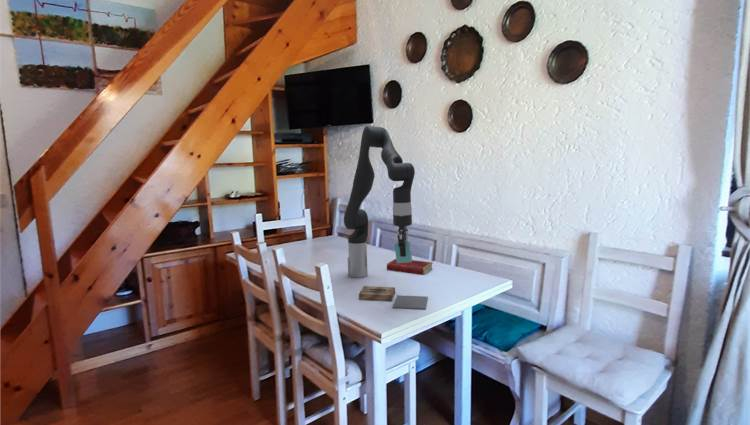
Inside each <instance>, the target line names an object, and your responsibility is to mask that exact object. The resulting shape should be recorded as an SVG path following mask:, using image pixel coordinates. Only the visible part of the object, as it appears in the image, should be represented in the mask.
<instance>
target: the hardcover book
mask: <svg viewBox="0 0 750 425" xmlns="http://www.w3.org/2000/svg"><path fill="white" fill-rule="evenodd" d="M433 264H434V262H432V261H423V260H417V259H416V260H414V259H412V262H407V263H397V261H396V258H395V259H392V260H391V261H389V262H387V263H386V270H387V271H391V272H399V273H405V274H413V275H414V274H415V275H420V276H425V275H426V274H427V273H429V272H431V270H433ZM428 271H429V272H428Z"/></svg>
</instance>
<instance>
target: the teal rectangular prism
mask: <svg viewBox="0 0 750 425" xmlns="http://www.w3.org/2000/svg"><path fill="white" fill-rule="evenodd" d="M401 244H403V243H401ZM398 245H399V244H398V241H397V242H394V250H395V259H396V261H397V263H407V262H412V260H413V257H412V256H413V255H412V250H411V249H412V248H411V241H409V240H408V242H406V256H405V257H401V256H400V247H399V246H398Z"/></svg>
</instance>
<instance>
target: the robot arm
mask: <svg viewBox="0 0 750 425" xmlns="http://www.w3.org/2000/svg"><path fill="white" fill-rule="evenodd" d="M361 133H362V134H361V139H360V140H361V141H360V146H359V155H358V160H357V165H356V169H355V173H354V178H353V183H352V188H351V191H350V195H349V198H348V203H347V206H346V209H345V212H344V215H343V224H344V227H345V228H346V229H348V230H353V232H352V233H351V234H350V235H349V236H348V237H347V245H348V248H347V249H348V257H347V276H348V277H349V278H350V277H351V278H355V279H359V278H365V277H368V272H369V270H368V244H367V243H368V242H367V241H368V239H367V238H368V236H369V216H368V213H367V211H366V210H364V209H360V207H361V205H362V203H363V202H364V200H365V199H366V198H367V196H368V195H369V194H370V192H371V190H372V188H373V185H374V181H375V176H376V174H375V171H374V167H373V165H372V163H371V160H370V148H377V149H379V148H380V149H382V150H381V152H380V157H381V160H382V161H383V163H384V165H385V167H386V169H387V170H386V171H387V176H388V178H389V180H391V181H392V182H402V184H401V185H400V186H397V187H394V188H393V189H392V190H393V191H392V200H393V201H392V204H393V205H392V219H393V220H392V225H393V226H394V227H398V229H397V232H396V233H397V234H396V235H397V237H396V238H397V242H398V244H399V245H398V246H399V247H400V256H401V257H405V256H406V242H409V239H408V238H409V234H408V233H409V229H408V228H407V227H410V226H411V225H413V214H412V209H413V208H412V196H411V194H412V187H413V183H414V179H415V178H414V177H415V172H416V171H415V167H414V165H413V164H412V163H410V162H403V158H402V156H401V155H400V154H399V152H398V151H397V150H396V148H395V147H394V143H393V142H392V139H391V136H390V134H389V132H388V130H387V129H386V128H385V127H382V126H381V127H380V126H374V125H366V126H364V128H363V131H362V132H361ZM401 243H403V244H401Z"/></svg>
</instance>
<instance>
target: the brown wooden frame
mask: <svg viewBox="0 0 750 425" xmlns="http://www.w3.org/2000/svg"><path fill="white" fill-rule="evenodd" d="M395 295H396V287H395V286H394V287H393V286H375V285H374V286H369V285H364V286H363V287H362V288H361V290H360V292H358V300H362V301H381V302H382V301H384V302H393V299H394V297H395Z"/></svg>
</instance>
